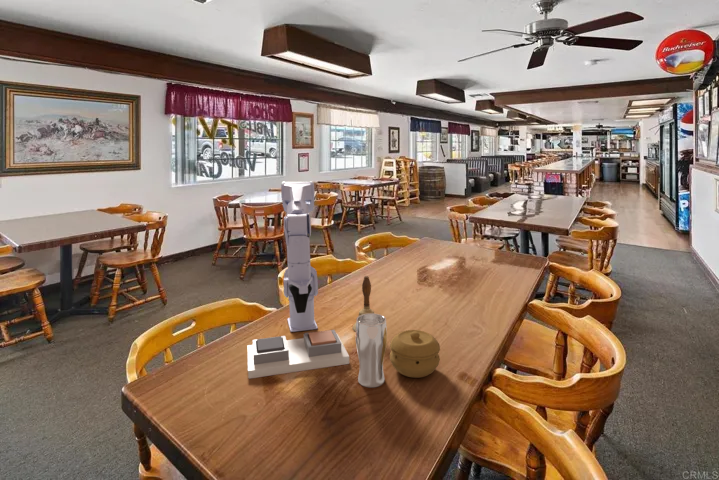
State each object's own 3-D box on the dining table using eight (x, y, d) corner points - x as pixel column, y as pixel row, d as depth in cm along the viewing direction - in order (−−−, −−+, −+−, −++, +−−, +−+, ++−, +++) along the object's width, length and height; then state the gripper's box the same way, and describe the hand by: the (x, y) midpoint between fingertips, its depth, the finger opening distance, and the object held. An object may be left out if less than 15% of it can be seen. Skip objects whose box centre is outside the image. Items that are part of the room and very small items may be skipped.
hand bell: (385, 331, 118) (385, 278, 114) (358, 336, 115) (358, 282, 111) (373, 320, 125) (374, 271, 122) (348, 324, 122) (348, 274, 119)
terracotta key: (308, 343, 106) (308, 332, 106) (331, 340, 108) (331, 330, 107) (312, 354, 101) (312, 343, 100) (336, 351, 102) (335, 340, 102)
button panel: (247, 352, 106) (246, 336, 105) (337, 340, 112) (337, 325, 111) (248, 378, 94) (247, 360, 93) (349, 363, 100) (349, 346, 99)
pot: (391, 384, 91) (391, 343, 89) (387, 358, 103) (388, 321, 100) (443, 384, 91) (445, 343, 89) (434, 358, 102) (435, 321, 100)
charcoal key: (257, 350, 103) (257, 339, 102) (281, 347, 105) (281, 336, 104) (258, 361, 97) (257, 350, 97) (284, 358, 99) (283, 346, 98)
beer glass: (384, 371, 96) (385, 312, 93) (387, 388, 90) (388, 325, 86) (355, 372, 96) (355, 313, 93) (356, 389, 89) (355, 326, 86)
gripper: (280, 255, 109) (282, 304, 111) (285, 269, 95) (288, 324, 98) (306, 254, 111) (308, 301, 113) (315, 267, 97) (317, 321, 99)
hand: (300, 311), depth 105 cm, fingers closed
